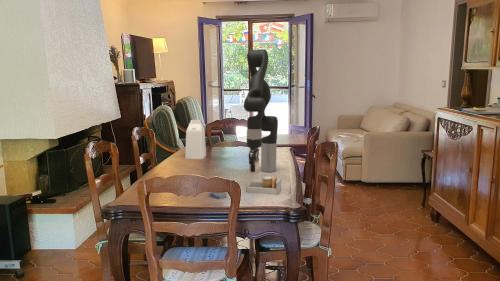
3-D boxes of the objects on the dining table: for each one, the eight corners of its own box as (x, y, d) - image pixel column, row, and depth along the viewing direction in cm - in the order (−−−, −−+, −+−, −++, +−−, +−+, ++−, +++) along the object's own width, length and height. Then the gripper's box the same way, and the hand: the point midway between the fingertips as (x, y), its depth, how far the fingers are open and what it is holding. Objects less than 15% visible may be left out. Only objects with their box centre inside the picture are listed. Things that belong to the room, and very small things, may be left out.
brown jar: (262, 188, 205) (263, 175, 204) (272, 189, 204) (273, 175, 203) (261, 191, 200) (261, 177, 199) (271, 191, 199) (271, 178, 198)
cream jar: (249, 170, 205) (250, 157, 204) (259, 171, 204) (260, 157, 203) (247, 173, 200) (247, 159, 199) (257, 173, 199) (257, 160, 198)
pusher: (274, 187, 205) (274, 176, 204) (276, 187, 205) (276, 176, 204) (271, 192, 197) (272, 180, 196) (273, 192, 197) (274, 180, 196)
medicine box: (209, 195, 193) (209, 177, 192) (216, 193, 196) (216, 176, 195) (219, 198, 188) (219, 181, 186) (226, 196, 191) (226, 179, 189)
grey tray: (251, 185, 209) (251, 174, 208) (281, 188, 206) (281, 176, 205) (246, 192, 199) (246, 180, 198) (277, 194, 195) (278, 182, 194)
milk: (206, 155, 283) (205, 119, 278) (202, 159, 272) (202, 121, 267) (189, 155, 284) (188, 118, 280) (185, 158, 273) (184, 120, 268)
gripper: (250, 135, 206) (249, 166, 209) (243, 139, 193) (243, 173, 196) (264, 135, 205) (263, 167, 208) (258, 140, 191) (258, 174, 194)
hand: (253, 170), depth 202 cm, fingers closed on cream jar, 5 cm apart
